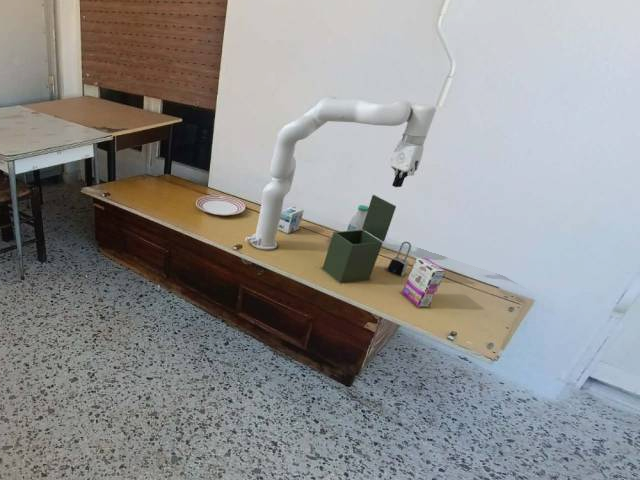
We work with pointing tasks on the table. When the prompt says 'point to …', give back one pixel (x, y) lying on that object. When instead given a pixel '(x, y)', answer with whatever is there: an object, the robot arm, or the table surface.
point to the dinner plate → (220, 205)
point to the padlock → (399, 263)
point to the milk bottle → (358, 219)
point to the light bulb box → (290, 219)
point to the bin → (352, 255)
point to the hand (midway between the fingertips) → (396, 186)
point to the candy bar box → (423, 282)
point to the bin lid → (378, 217)
